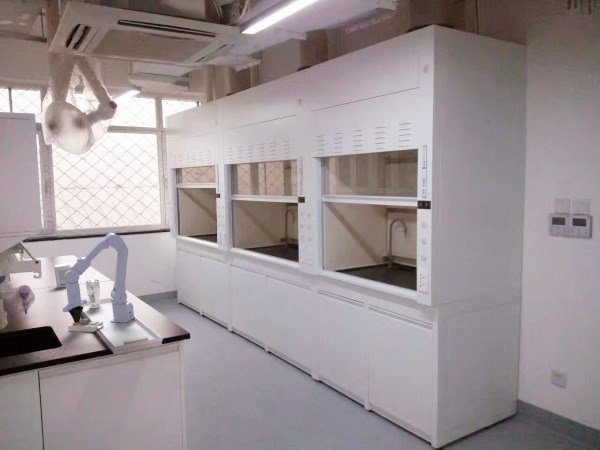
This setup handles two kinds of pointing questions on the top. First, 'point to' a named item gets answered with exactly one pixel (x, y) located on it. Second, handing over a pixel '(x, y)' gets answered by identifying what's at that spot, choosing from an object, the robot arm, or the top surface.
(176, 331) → the top surface
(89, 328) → the keypad
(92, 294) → the beer glass
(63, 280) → the supplement tub
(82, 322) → the grey key
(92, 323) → the sage key
